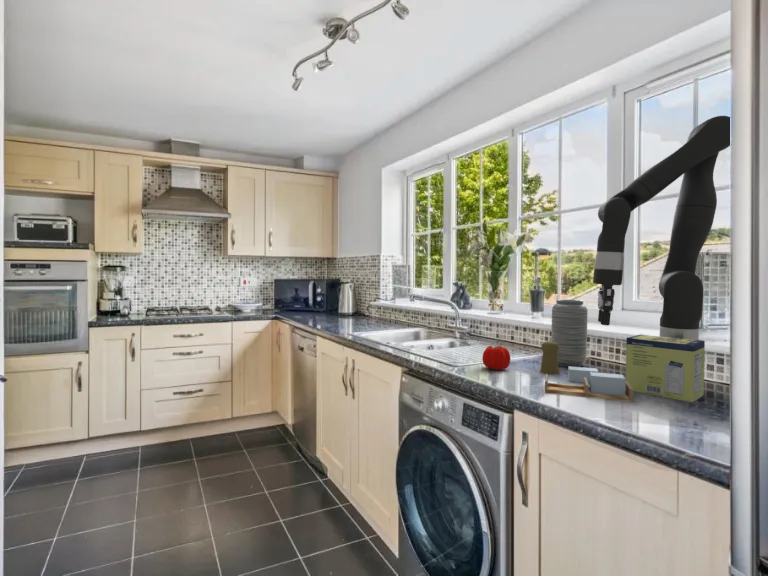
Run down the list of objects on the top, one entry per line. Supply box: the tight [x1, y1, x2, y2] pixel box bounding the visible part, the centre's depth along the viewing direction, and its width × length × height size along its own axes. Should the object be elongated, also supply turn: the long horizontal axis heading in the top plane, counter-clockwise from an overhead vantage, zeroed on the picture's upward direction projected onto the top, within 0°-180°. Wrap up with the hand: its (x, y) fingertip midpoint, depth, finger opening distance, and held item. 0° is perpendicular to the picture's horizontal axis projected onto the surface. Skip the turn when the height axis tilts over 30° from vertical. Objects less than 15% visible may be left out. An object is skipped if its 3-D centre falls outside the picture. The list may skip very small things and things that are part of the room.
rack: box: [544, 373, 634, 403], centre depth 112 cm, size 20×9×4 cm, turn 68°
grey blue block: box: [567, 366, 599, 384], centre depth 125 cm, size 8×4×5 cm, turn 69°
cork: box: [539, 340, 560, 375], centre depth 135 cm, size 6×6×11 cm
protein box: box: [625, 334, 706, 404], centre depth 113 cm, size 10×16×16 cm
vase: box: [550, 299, 589, 367], centre depth 153 cm, size 12×12×23 cm
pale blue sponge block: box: [589, 372, 626, 396], centre depth 110 cm, size 8×4×5 cm, turn 68°
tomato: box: [482, 345, 511, 371], centre depth 146 cm, size 9×9×8 cm
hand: (603, 323), depth 126 cm, fingers open, 8 cm apart
